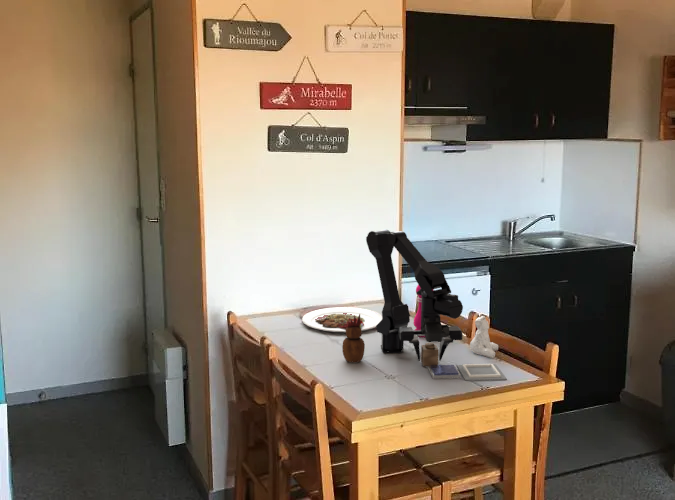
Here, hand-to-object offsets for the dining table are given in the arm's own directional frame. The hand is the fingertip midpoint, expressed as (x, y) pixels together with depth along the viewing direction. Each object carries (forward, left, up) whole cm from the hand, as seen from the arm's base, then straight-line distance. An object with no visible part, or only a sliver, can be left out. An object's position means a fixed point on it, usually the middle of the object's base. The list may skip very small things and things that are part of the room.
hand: (429, 360), depth 219 cm
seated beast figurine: (+19, +10, -2) cm, 22 cm away
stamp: (0, 0, -1) cm, 1 cm away
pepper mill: (+3, +29, -1) cm, 29 cm away
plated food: (-24, +45, -2) cm, 51 cm away
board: (+14, -8, -1) cm, 16 cm away
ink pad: (+3, -8, -1) cm, 9 cm away
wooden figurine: (-23, +4, -1) cm, 23 cm away
